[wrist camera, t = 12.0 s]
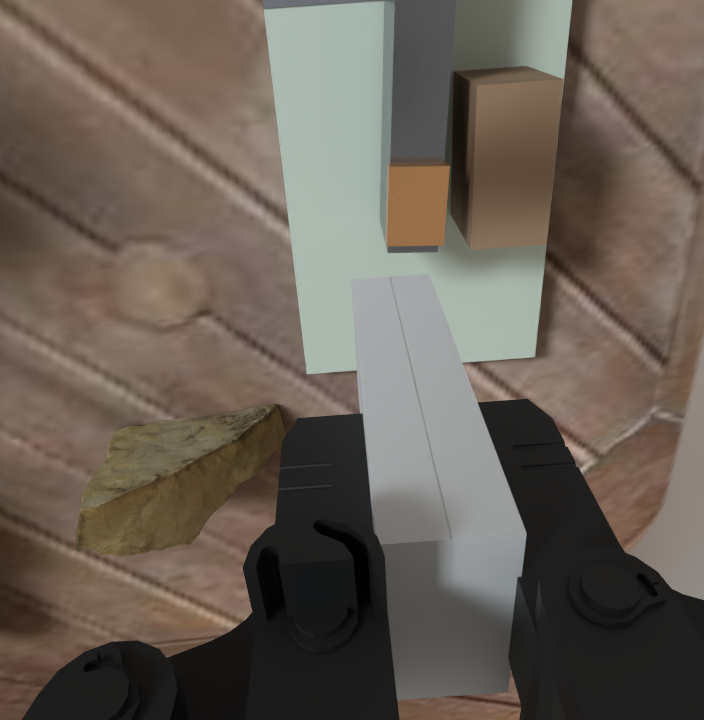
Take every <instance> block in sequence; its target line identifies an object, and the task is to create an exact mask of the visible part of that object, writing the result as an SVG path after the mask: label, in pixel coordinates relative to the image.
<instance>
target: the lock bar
mask: <svg viewBox="0 0 704 720" xmlns="http://www.w3.org/2000/svg"><path fill="white" fill-rule="evenodd" d="M455 9H456V0H384V39H383V87H382V135H381V183H380V224H381V228H382V232H383V236H384V240H385V244H386V248H387V252H388V253H423V252H438V246H444V237H445V224H446V211H447V198H448V185H449V172H450V165H449V164H448V163H447V162H444V161H445V147H446V133H447V119H448V105H449V92H450V78H451V64H452V50H453V36H454V22H455Z"/></svg>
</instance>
